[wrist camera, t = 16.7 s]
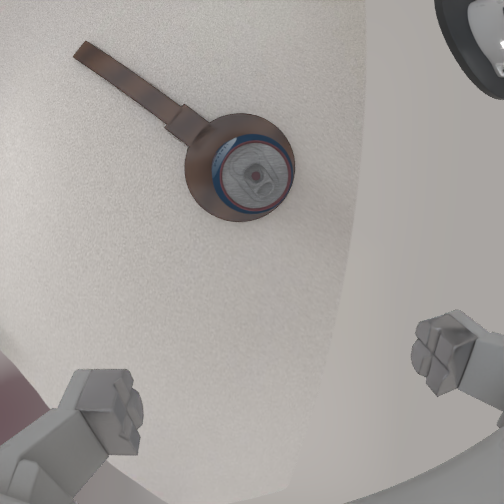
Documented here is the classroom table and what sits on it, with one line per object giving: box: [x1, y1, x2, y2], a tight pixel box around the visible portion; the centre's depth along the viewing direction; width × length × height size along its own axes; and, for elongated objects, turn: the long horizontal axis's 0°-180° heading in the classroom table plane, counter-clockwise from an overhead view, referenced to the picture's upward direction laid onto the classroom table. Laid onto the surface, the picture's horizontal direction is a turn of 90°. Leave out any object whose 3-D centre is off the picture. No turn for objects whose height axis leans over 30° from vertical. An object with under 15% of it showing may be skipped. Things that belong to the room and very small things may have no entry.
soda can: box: [212, 134, 293, 214], centre depth 30 cm, size 7×7×12 cm
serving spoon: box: [73, 41, 295, 222], centre depth 33 cm, size 33×13×1 cm, turn 50°
